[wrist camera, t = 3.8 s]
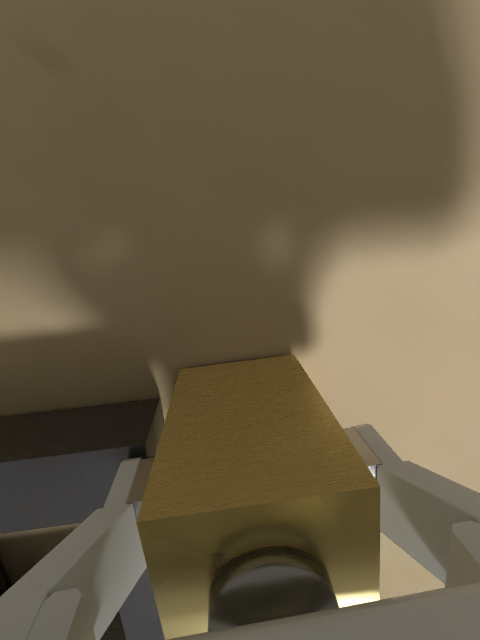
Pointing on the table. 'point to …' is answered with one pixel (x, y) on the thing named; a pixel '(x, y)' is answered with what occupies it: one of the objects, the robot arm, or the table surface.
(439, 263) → the table surface
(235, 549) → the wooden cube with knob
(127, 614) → the grey flat slotted block
